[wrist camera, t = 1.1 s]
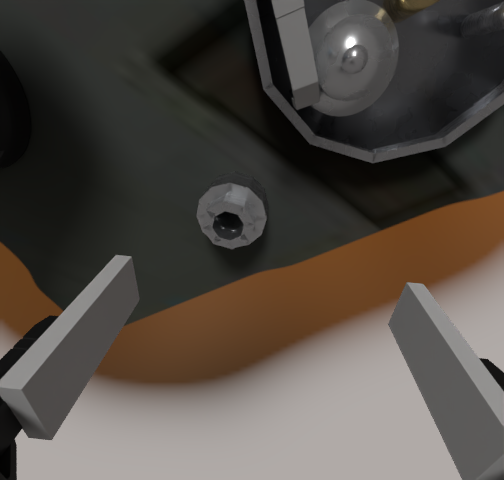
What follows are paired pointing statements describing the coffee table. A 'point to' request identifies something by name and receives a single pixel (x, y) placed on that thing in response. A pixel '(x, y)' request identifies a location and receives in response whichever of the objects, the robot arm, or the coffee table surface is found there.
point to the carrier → (389, 72)
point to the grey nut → (233, 210)
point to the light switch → (297, 51)
